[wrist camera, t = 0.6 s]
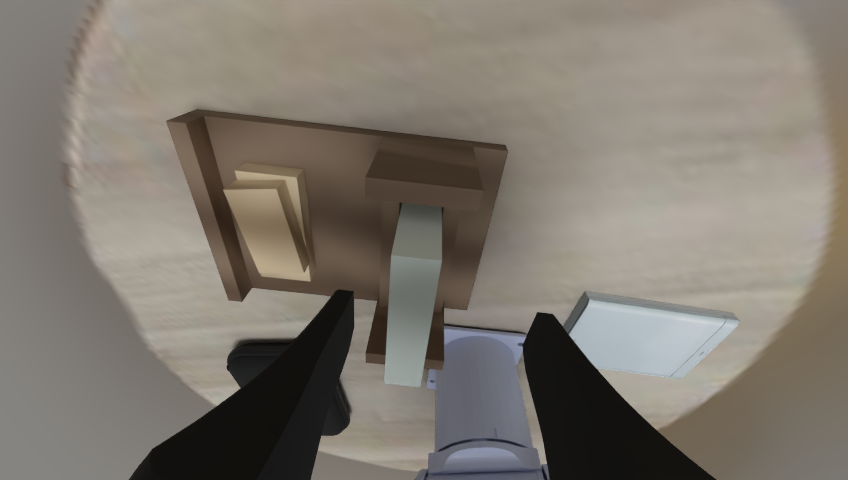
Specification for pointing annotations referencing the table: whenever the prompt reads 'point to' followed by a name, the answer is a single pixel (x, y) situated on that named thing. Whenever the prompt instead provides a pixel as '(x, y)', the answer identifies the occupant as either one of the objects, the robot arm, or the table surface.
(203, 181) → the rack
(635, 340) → the hard drive
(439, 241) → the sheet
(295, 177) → the offcut stack
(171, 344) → the table surface
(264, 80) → the table surface
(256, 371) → the carrying case or bag
